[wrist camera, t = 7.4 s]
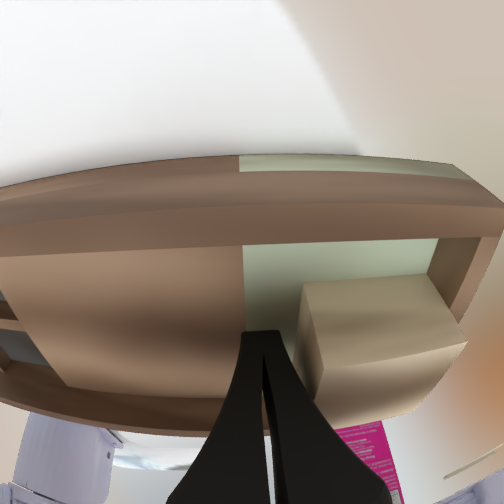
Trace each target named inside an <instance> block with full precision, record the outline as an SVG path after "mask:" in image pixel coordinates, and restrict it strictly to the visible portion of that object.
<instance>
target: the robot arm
mask: <svg viewBox="0 0 504 504" xmlns="http://www.w3.org/2000/svg"><path fill="white" fill-rule="evenodd" d="M262 391H263V397H264V402H265V408H266V414H267V420H268V425H269V431H270V437H271V444H272V458H273V472H274V486H275V487H274V488H275V504H393V501H392V496H391V494H390V491H389V489H388V487H387V485H386V483H385V481H384V480H383V479H382V478H381V477H380V476H378V475H377V474H376V473H375V472H374V471H373V470H372V469H370V468H369V467H368V466H367V465H366V464H365V463H364V462H363V461H362V460H361V459H360V458H359V457H358V456H357V455H356V454H355V453H354V452H353V451H352V450H351V449H350V448H349V447H348V445H347V444H346V443H345V442H344V441H343V440H342V439H341V438H340V436H339V435H338V434H337V433H336V432H335V430H334V429H333V428H332V427H331V425H330V424H329V423H328V421H327V420H326V419H325V417H324V416H323V415H322V413H321V412H320V410H319V409H318V407H317V406H316V404H315V403H314V401H313V400H312V398H311V397H310V395H309V393H308V392H307V390H306V388H305V387H304V385H303V383H302V381H301V379H300V378H299V376H298V374H297V372H296V370H295V368H294V366H293V364H292V362H291V360H290V357H289V355H288V353H287V351H286V348H285V346H284V343H283V340H282V337H281V334H280V331H278V330H262V331H244V332H242V333H241V342H240V349H239V355H238V359H237V363H236V367H235V371H234V374H233V377H232V381H231V384H230V387H229V390H228V392H227V395H226V398H225V400H224V403H223V406H222V408H221V410H220V413H219V415H218V417H217V420H216V422H215V424H214V426H213V428H212V430H211V432H210V434H209V436H208V438H207V440H206V441H205V444H204V445H203V447H202V449H201V450H200V452H199V454H198V455H197V457H196V459H195V460H194V462H193V463H192V465H191V467H190V468H189V470H188V471H187V473H186V474H185V476H184V477H183V478H182V480H181V481H180V483H179V484H178V485H177V487H176V488H175V489H174V491H173V492H172V493H171V495H170V496H169V497H168V499H167V502H166V504H270V495H269V485H268V474H267V464H266V454H265V442H264V431H263V419H262ZM115 448H123V444H122V443H121V442H119V441H118V440H117V439H116V438H115V437H114V436H113V435H112V434H111V433H110V432H109V431H108V430H107V429H106V428H100V427H94V426H89V425H83V424H78V423H74V422H69V421H65V420H60V419H56V418H52V417H48V416H45V415H41V414H37V413H34V412H30V414H29V417H28V421H27V424H26V427H25V431H24V434H23V438H22V442H21V446H20V449H19V453H18V458H17V462H16V466H15V471H14V476H13V482H14V483H16V484H18V485H20V486H22V487H24V488H26V489H29V490H31V491H33V493H32V492H30V491H27V490H25V489H23V488H21V487H19V486H17V485H15V484H12V483H10V482H9V483H8V485H7V484H5V483H2V485H0V504H103V503H104V502H105V500H106V499H107V496H108V492H109V485H110V477H111V469H112V462H113V455H114V449H115ZM434 504H504V468H501V469H500V470H498V471H496V472H495V473H493V474H491V475H489V476H488V477H486V478H484V479H483V480H479V481H478V482H476V483H474V484H472V485H470V486H468V487H466V488H464V489H462V490H460V491H458V492H456V493H455V494H454V495H452V496H450V497H448V498H446V499H443V500H441V501H439V502H436V503H434Z"/></svg>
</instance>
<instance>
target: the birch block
mask: <svg viewBox="0 0 504 504" xmlns="http://www.w3.org/2000/svg"><path fill="white" fill-rule="evenodd" d="M467 342H468V341H467V339H466V337H465V335H464V333H463V332H462V330H461V328H460V327H459V325H458V323H457V321H456V320H455V318H454V316H453V315H452V313H451V311H450V310H449V308H448V306H447V305H446V303H445V302H444V300H443V298H442V297H441V295H440V294H439V292H438V291H437V289H436V287H435V286H434V284H433V283H432V281H431V280H430V278H429V277H428V275H427V274H426V273H423V274H412V275H400V276H388V277H375V278H362V279H348V280H333V281H318V282H303V286H302V295H301V303H300V311H299V319H298V326H297V333H296V341H295V348H294V355H293V361H292V364H293V366H294V368H295V370H296V372H297V374H298V376H299V378H300V379H301V381H302V383H303V385H304V387H305V388H306V390H307V392H308V393H309V395H310V397H311V398H312V400H313V401H314V403H315V404H316V406H317V407H318V409H319V410H320V412H321V413H322V415H323V416H324V417H325V419H326V420H327V421H328V423H329V424H330V425H331V427H332V428H333V429H339V428H345V427H351V426H356V425H361V424H366V423H371V422H375V421H380V420H384V419H388V418H392V417H396V416H400V415H404V414H408V413H411V412H413V411H414V410H415V409H416V408H417V407H418V406H419V405H420V404H421V403H422V401H423V400H424V399H425V398H426V397H427V395H428V394H429V393H430V392H431V391H432V389H433V388H434V387H435V386H436V384H437V383H438V382H439V381H440V379H441V378H442V377H443V375H444V374H445V373H446V372H447V370H448V369H449V368H450V366H451V365H452V363H453V362H454V361H455V359H456V358H457V356H458V355H459V354H460V352H461V351H462V349H463V348H464V346H465V345H466V344H467Z"/></svg>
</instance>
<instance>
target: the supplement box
mask: <svg viewBox="0 0 504 504" xmlns="http://www.w3.org/2000/svg"><path fill="white" fill-rule="evenodd" d="M334 430H335V432H336V433H337V434H338V435H339V436H340V438H341V439H342V440H343V441H344V442H345V443H346V444H347V445H348V447H349V448H350V449H351V450H352V451H353V452H354V453H355V454H356V455H357V456H358V457H359V458H360V459H361V460H362V461H363V462H364V463H365V464H366V465H367V466H368V467H369V468H370V469H372V470H373V471H374V472H375V473H376V474H377V475H378V476H380V477H381V478H382V479H383V480H384V481H385V483H386V485H387V487H388V489H389V491H390V494H391V496H392V501H393V504H404V500H403V496H402V492H401V487H400V484H399V480H398V477H397V473H396V469H395V465H394V462H393V459H392V455H391V451H390V448H389V444H388V441H387V438H386V434H385V431H384V428H383V425H382V421H381V420H380V421H375V422H371V423H366V424H361V425H356V426H351V427H345V428H339V429H334Z"/></svg>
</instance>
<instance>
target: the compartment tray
mask: <svg viewBox="0 0 504 504" xmlns="http://www.w3.org/2000/svg"><path fill="white" fill-rule="evenodd" d="M503 229H504V203H503V202H502V201H501V200H499V199H498V198H497V197H496V196H495V195H493V194H492V193H491V192H490V191H488V190H487V189H486V188H484V187H483V186H482V185H480V184H479V183H478V182H476V181H475V180H474V179H472V178H471V177H470V176H468V175H467V174H465V173H464V172H463V171H461V170H460V169H458V168H457V167H455V166H454V165H452V164H446V163H438V162H429V161H420V160H410V159H399V158H385V157H372V156H353V155H326V154H258V155H230V156H212V157H196V158H183V159H172V160H161V161H152V162H143V163H134V164H126V165H119V166H111V167H104V168H98V169H91V170H85V171H79V172H73V173H68V174H62V175H57V176H52V177H47V178H42V179H37V180H32V181H28V182H23V183H19V184H15V185H10V186H6V187H2V188H0V402H2V403H5V404H8V405H11V406H14V407H17V408H20V409H24V410H27V411H30V412H34V413H37V414H41V415H45V416H48V417H52V418H56V419H60V420H65V421H69V422H74V423H78V424H83V425H89V426H94V427H100V428H106V429H112V430H119V431H127V432H134V433H144V434H153V435H166V436H180V437H208V436H209V434H210V432H211V430H212V428H213V426H214V424H215V422H216V420H217V417H218V415H219V413H220V410H221V408H222V406H223V403H224V400H225V398H226V395H227V392H228V390H229V387H230V384H231V381H232V377H233V374H234V371H235V367H236V363H237V359H238V355H239V349H240V342H241V333H242V332H244V331H262V330H278V331H280V334H281V337H282V340H283V343H284V346H285V348H286V351H287V353H288V355H289V357H290V360H291V362H292V361H293V355H294V348H295V341H296V333H297V326H298V319H299V311H300V303H301V295H302V286H303V282H318V281H333V280H348V279H362V278H375V277H388V276H400V275H412V274H423V273H426V274H427V275H428V277H429V278H430V280H431V281H432V283H433V284H434V286H435V287H436V289H437V291H438V292H439V294H440V295H441V297H442V298H443V300H444V302H445V303H446V305H447V306H448V308H449V310H450V311H451V313H452V315H453V316H454V318H455V320H456V321H457V323H458V324H459V322H460V320H461V319H462V317H463V315H464V313H465V312H466V310H467V308H468V306H469V304H470V302H471V301H472V299H473V297H474V295H475V293H476V291H477V289H478V287H479V285H480V283H481V281H482V279H483V277H484V274H485V272H486V270H487V268H488V266H489V264H490V261H491V259H492V257H493V254H494V252H495V250H496V247H497V245H498V242H499V240H500V237H501V235H502V232H503ZM262 419H263V431H264V436H270V431H269V425H268V420H267V414H266V408H265V402H264V397H263V391H262Z"/></svg>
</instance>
